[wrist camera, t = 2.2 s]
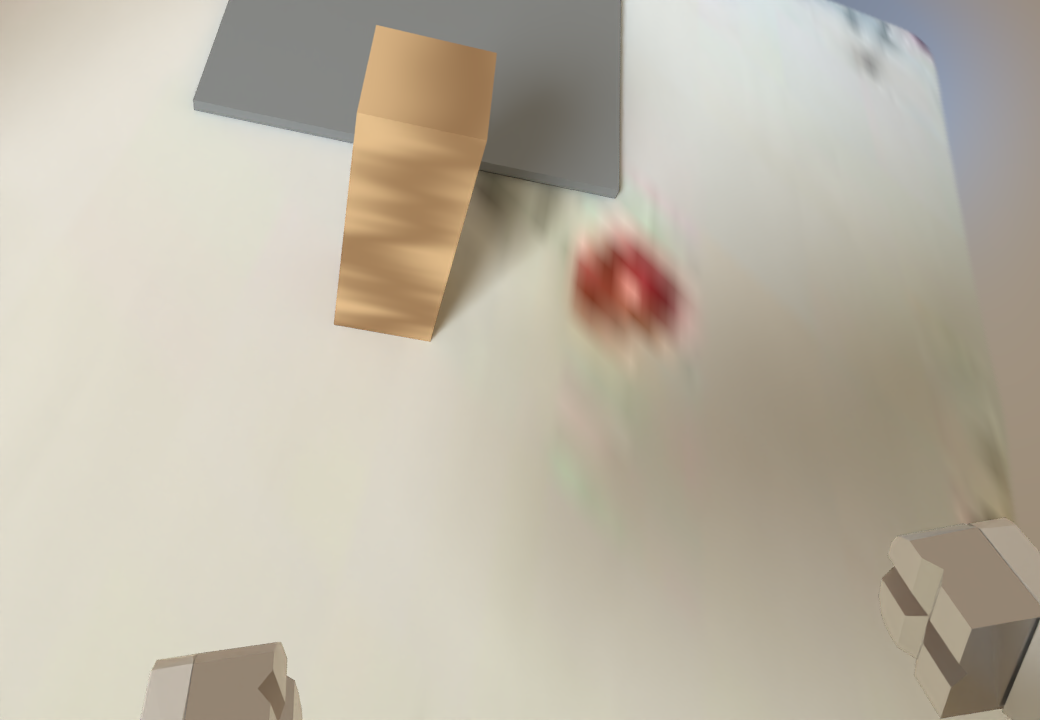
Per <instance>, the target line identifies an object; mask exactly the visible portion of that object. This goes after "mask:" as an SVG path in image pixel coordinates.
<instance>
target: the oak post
mask: <svg viewBox="0 0 1040 720" xmlns="http://www.w3.org/2000/svg"><path fill="white" fill-rule="evenodd" d="M496 57H497V53H495V52H491V51H486V50H482V49H478V48H473V47H469V46H465V45H460V44H456V43H452V42H448V41H443V40H439V39H435V38H430V37H426V36H422V35H417V34H413V33H409V32H405V31H400V30H396V29H392V28H387V27H383V26H379V25H376V28H375V33H374V37H373V42H372V46H371V51H370V56H369V60H368V65H367V69H366V74H365V78H364V83H363V87H362V92H361V96H360V101H359V105H358V110H357V116H356V125H355V134H354V144H353V153H352V162H351V171H350V181H349V190H348V199H347V208H346V217H345V227H344V236H343V245H342V254H341V264H340V273H339V282H338V291H337V300H336V310H335V319H334V325H340V326H345V327H351V328H357V329H362V330H368V331H374V332H379V333H385V334H390V335H396V336H402V337H407V338H413V339H419V340H424V341H430V340H431V337H432V333H433V330H434V326H435V323H436V319H437V315H438V312H439V308H440V305H441V301H442V298H443V294H444V291H445V287H446V284H447V280H448V277H449V273H450V270H451V266H452V263H453V259H454V255H455V252H456V248H457V245H458V241H459V238H460V234H461V231H462V227H463V224H464V220H465V217H466V213H467V210H468V206H469V202H470V199H471V195H472V192H473V188H474V185H475V181H476V178H477V174H478V171H479V167H480V164H481V160H482V157H483V153H484V149H485V146H486V142H487V136H488V128H489V119H490V110H491V101H492V92H493V83H494V75H495V66H496Z"/></svg>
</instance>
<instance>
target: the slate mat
mask: <svg viewBox="0 0 1040 720" xmlns="http://www.w3.org/2000/svg"><path fill="white" fill-rule="evenodd" d="M620 22H621V0H229V1H228V4H227V7H226V10H225V13H224V15H223V18H222V21H221V24H220V26H219V29H218V32H217V35H216V38H215V40H214V43H213V46H212V49H211V52H210V54H209V57H208V60H207V63H206V66H205V68H204V71H203V74H202V77H201V80H200V82H199V85H198V88H197V91H196V94H195V96H194V99H193V103H194V110H198V111H203V112H207V113H212V114H217V115H222V116H226V117H231V118H236V119H241V120H245V121H250V122H255V123H260V124H264V125H269V126H274V127H279V128H283V129H288V130H293V131H298V132H302V133H307V134H312V135H317V136H321V137H326V138H331V139H336V140H340V141H345V142H350V143H354V134H355V125H356V116H357V110H358V105H359V101H360V96H361V92H362V87H363V83H364V78H365V74H366V69H367V65H368V60H369V56H370V51H371V46H372V42H373V37H374V33H375V28H376V25H379V26H383V27H387V28H392V29H396V30H400V31H405V32H409V33H413V34H417V35H422V36H426V37H430V38H435V39H439V40H443V41H448V42H452V43H456V44H460V45H465V46H469V47H473V48H478V49H482V50H486V51H491V52H495V53H497V57H496V66H495V75H494V83H493V92H492V101H491V110H490V119H489V128H488V136H487V142H486V146H485V149H484V153H483V157H482V160H481V164H480V167H479V170H483V171H487V172H492V173H497V174H502V175H506V176H511V177H516V178H521V179H525V180H530V181H535V182H540V183H544V184H549V185H554V186H559V187H563V188H568V189H573V190H578V191H582V192H587V193H592V194H597V195H601V196H606V197H611V198H616V196H617V194H618V192H619V141H620Z"/></svg>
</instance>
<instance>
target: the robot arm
mask: <svg viewBox="0 0 1040 720" xmlns="http://www.w3.org/2000/svg"><path fill="white" fill-rule="evenodd" d="M888 557H889V559H890V560H891V562H892V563H893V565H894V567H893V568H892V569H891V570H890V571H889V572H888V573H887V574H886V575H885V576H884V577H883V578H882V580H881V585H880V591H879V602H880V609H881V616H882V618H883V621H884V623H885V626H886V628H887V631H888V633H889V634H890V636H891V638H892V640H893V641H894V643H895V645H896V646H897V647H898V648H899V649H901V650H903V651H904V652H906V653H907V654H909V655H911V656H912V657H914V658H916V665H915V671H914V676H915V678H916V679H917V681H918V683H919V684H920V686H921V688H922V689H923V691H924V693H925V694H926V696H927V697H928V699H929V701H930V702H931V704H932V706H933V707H934V709H935V710H936V712H937V714H938V715H939V717H940V718H946V717H953V716H959V715H965V714H971V713H978V712H984V711H990V710H996V709H1002V708H1003V710H1002V712H1003V713H1004V714H1005V715H1007V716H1008V717H1009V718H1011V719H1012V720H1040V552H1039V551H1038V549H1037V548H1036V547H1035V546H1034V545H1033V544H1032V542H1030V540H1029V539H1028V538H1027V537H1026V536H1025V534H1024V533H1023V532H1022V531H1021V530H1020V528H1019V527H1018V526H1017V525H1016V524H1015V523H1014V522H1012V521H1011V520H1009V519H1007V518H999V519H993V520H987V521H981V522H975V523H969V524H959V525H953V526H948V527H943V528H937V529H932V530H926V531H921V532H915V533H910V534H905V535H899V536H897V537H896V538H895V539H894V540H893V541H892V542H891V545H890V548H889V552H888ZM140 720H302V708H301V703H300V698H299V692H298V689H297V686H296V683H295V680H293V679H291V678H290V677H288V676H287V656H286V654H285V651H284V648H283V646H282V643H281V642H275V643H268V644H261V645H254V646H247V647H240V648H233V649H226V650H219V651H212V652H205V653H198V654H192V655H186V656H180V657H173V658H167V659H161V660H157V661H156V663H155V664H154V666H153V668H152V670H151V672H150V674H149V679H148V684H147V689H146V694H145V699H144V704H143V709H142V713H141V718H140Z"/></svg>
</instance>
